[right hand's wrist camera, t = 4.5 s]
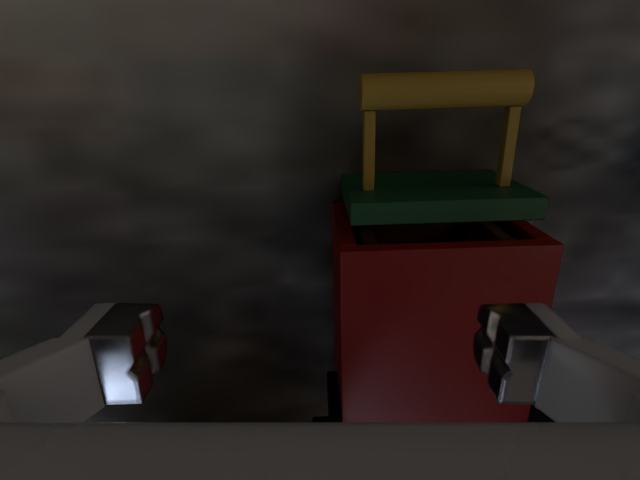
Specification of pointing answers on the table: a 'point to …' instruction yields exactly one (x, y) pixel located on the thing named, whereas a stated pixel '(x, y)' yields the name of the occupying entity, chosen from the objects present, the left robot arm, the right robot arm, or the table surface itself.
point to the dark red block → (428, 320)
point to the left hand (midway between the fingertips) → (415, 383)
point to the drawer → (440, 186)
